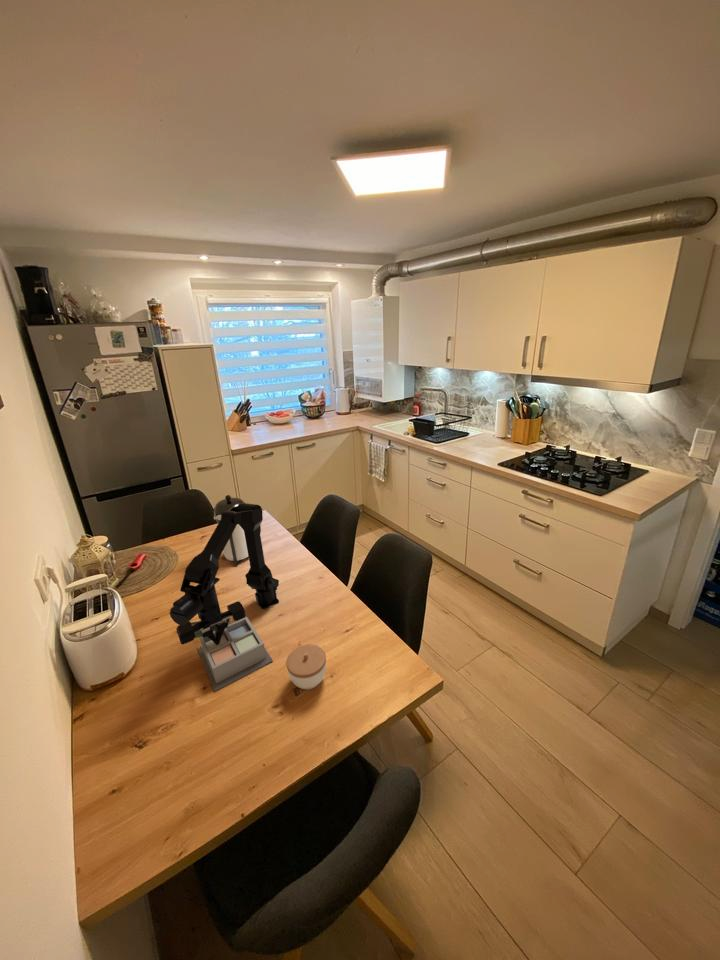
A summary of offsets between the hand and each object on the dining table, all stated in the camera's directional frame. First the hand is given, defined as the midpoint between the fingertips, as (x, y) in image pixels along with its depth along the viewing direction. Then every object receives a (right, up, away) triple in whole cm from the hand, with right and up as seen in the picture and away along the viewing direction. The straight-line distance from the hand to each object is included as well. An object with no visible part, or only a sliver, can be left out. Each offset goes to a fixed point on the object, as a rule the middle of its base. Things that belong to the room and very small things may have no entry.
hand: (217, 643), depth 116 cm
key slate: (+6, -1, +5) cm, 8 cm away
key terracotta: (+4, -4, -5) cm, 7 cm away
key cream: (0, -3, +1) cm, 3 cm away
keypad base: (+5, -4, 0) cm, 6 cm away
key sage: (+10, -2, -1) cm, 10 cm away
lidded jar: (+29, -6, -9) cm, 31 cm away
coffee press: (-10, +16, +55) cm, 58 cm away
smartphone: (-8, -1, +13) cm, 15 cm away
